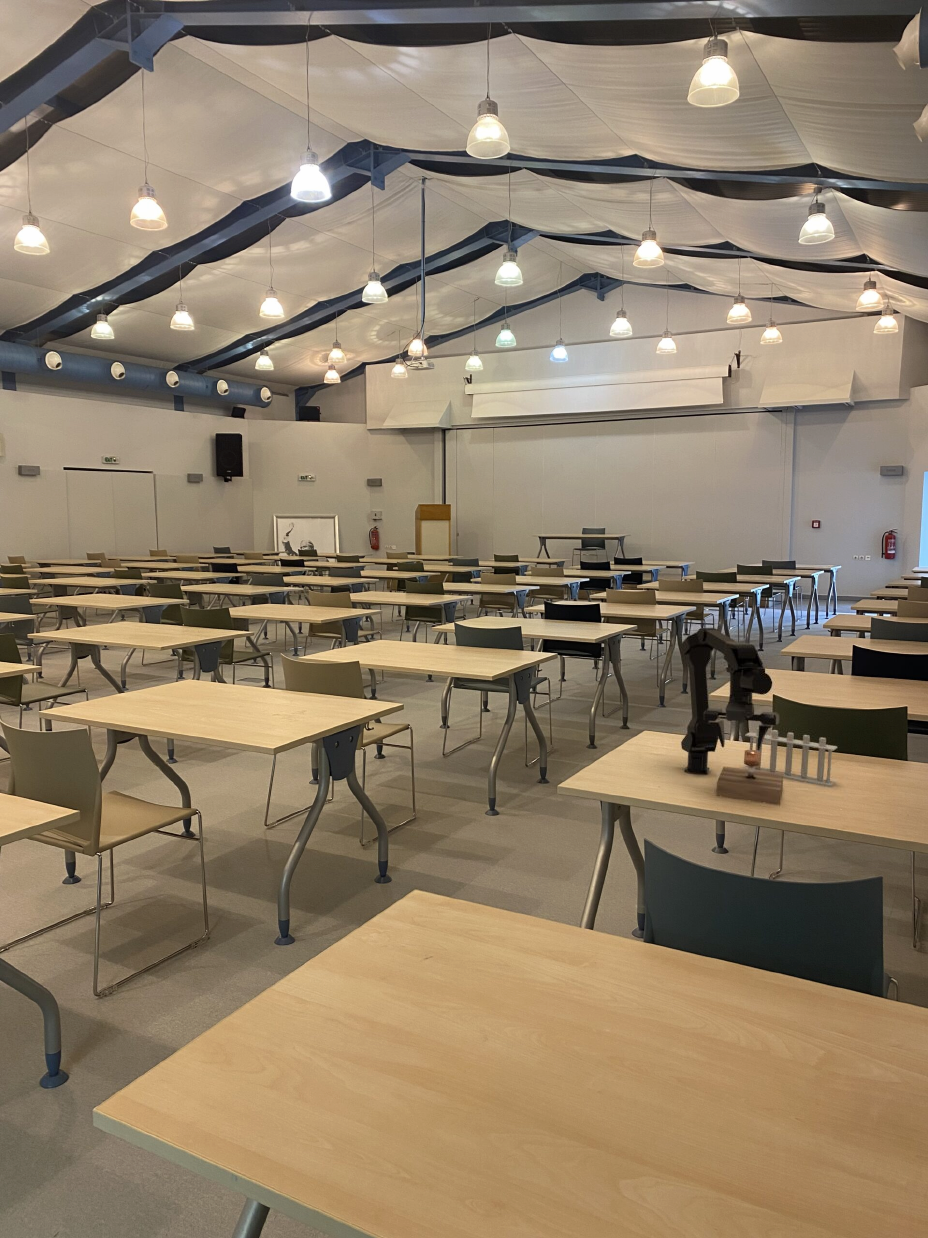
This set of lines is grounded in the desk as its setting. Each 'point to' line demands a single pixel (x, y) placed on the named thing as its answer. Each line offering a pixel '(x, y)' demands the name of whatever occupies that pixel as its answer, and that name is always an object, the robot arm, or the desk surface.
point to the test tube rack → (789, 752)
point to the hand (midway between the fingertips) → (740, 748)
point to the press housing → (750, 785)
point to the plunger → (751, 761)
